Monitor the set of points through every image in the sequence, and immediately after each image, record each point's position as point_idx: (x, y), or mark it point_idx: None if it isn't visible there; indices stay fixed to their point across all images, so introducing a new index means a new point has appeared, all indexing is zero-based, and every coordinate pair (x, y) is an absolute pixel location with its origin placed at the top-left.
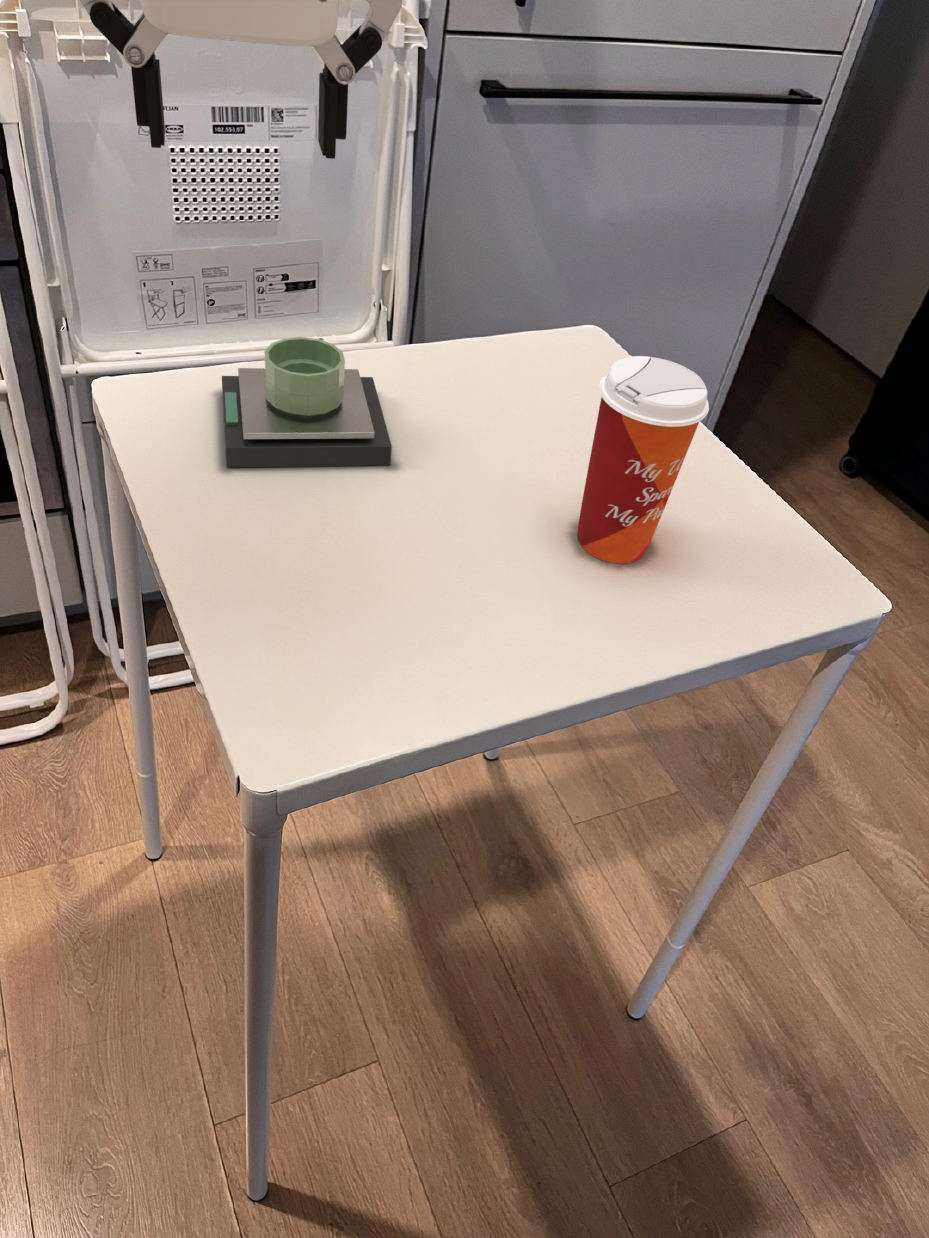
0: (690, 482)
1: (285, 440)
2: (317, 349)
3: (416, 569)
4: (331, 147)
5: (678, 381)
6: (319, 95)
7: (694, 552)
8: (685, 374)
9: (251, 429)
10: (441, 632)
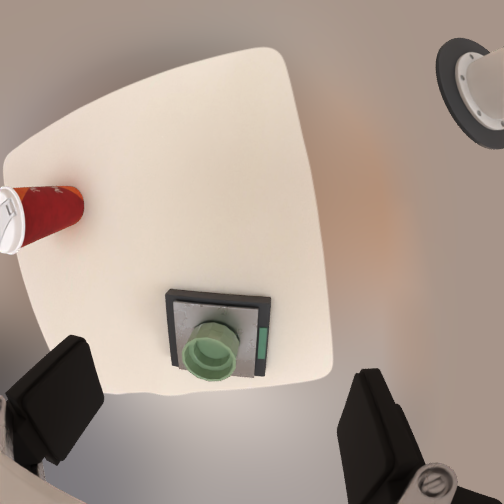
0: (34, 252)
1: None
2: (200, 372)
3: (168, 185)
4: (67, 341)
5: None
6: (72, 436)
7: None
8: None
9: (252, 313)
10: (166, 131)
